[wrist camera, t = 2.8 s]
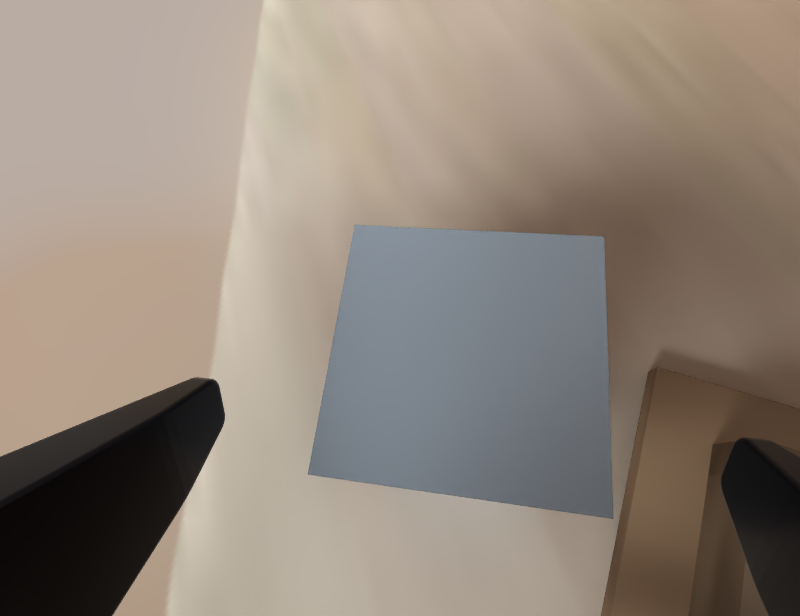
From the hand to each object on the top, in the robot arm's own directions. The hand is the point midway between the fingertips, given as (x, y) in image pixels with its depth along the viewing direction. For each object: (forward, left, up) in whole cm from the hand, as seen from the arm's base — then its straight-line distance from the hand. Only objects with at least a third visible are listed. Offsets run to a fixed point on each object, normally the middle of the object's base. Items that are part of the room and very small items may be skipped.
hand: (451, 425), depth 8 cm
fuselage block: (+1, 0, -9) cm, 9 cm away
